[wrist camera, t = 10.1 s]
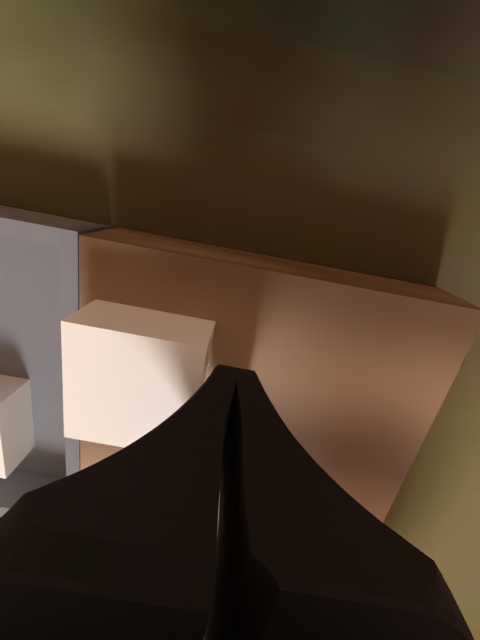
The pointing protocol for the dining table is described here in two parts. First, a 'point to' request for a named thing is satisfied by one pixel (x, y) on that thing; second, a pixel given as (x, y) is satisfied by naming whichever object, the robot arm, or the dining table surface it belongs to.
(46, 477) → the tray
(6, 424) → the tile
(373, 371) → the board
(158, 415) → the tile
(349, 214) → the dining table surface
